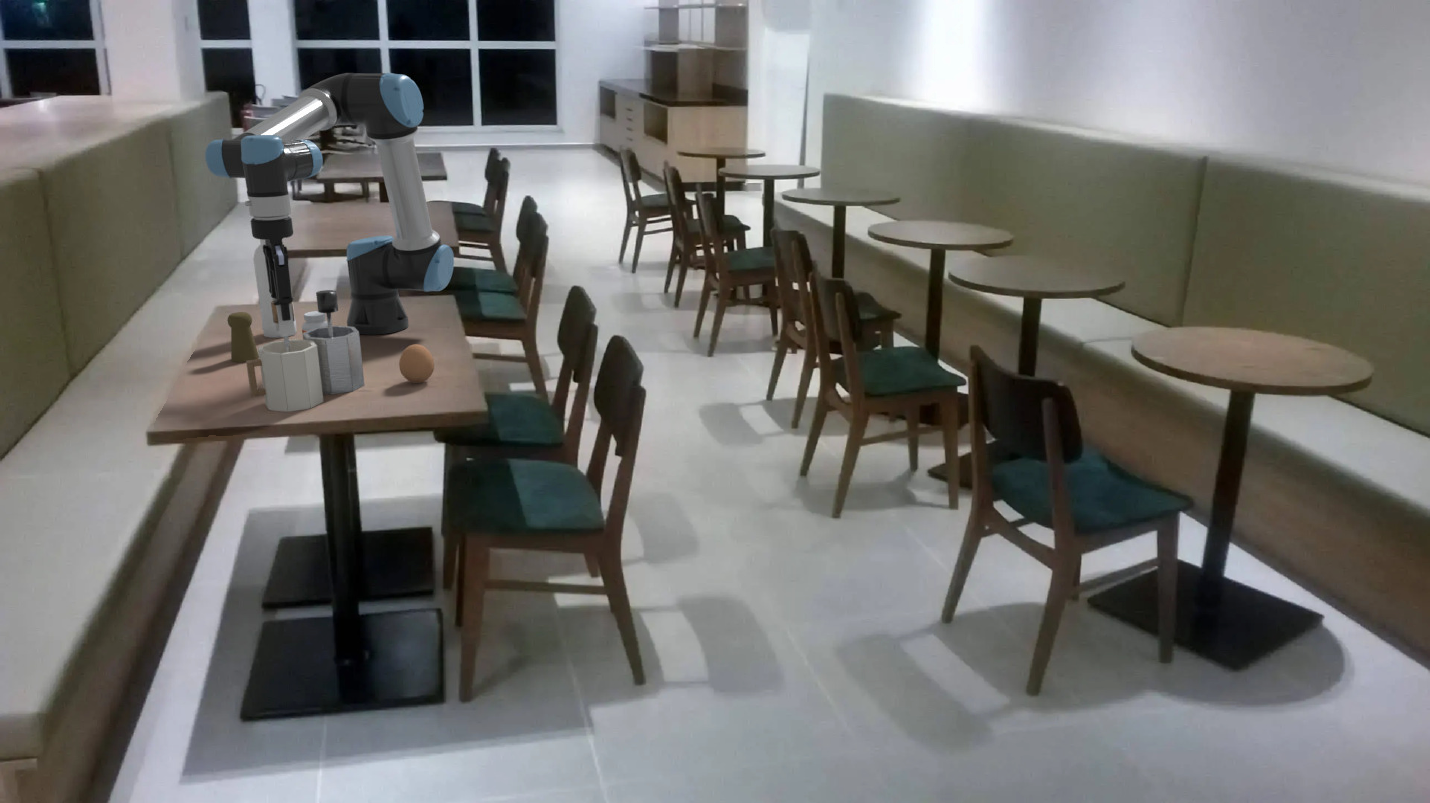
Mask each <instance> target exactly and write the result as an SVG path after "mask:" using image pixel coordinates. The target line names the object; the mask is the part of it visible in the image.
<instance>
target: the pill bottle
mask: <svg viewBox="0 0 1430 803" xmlns="http://www.w3.org/2000/svg"><path fill="white" fill-rule="evenodd" d="M303 318H304V321H305V322H303V324H302V325H301V329H302V330H301V331H302V334H303V333H304V332H307V331H309V330H312V329H314V328H320V327H328V323H327V315H326V313H319V312H318V310H315V311H308V312H305V313H304V314H303Z"/></svg>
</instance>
